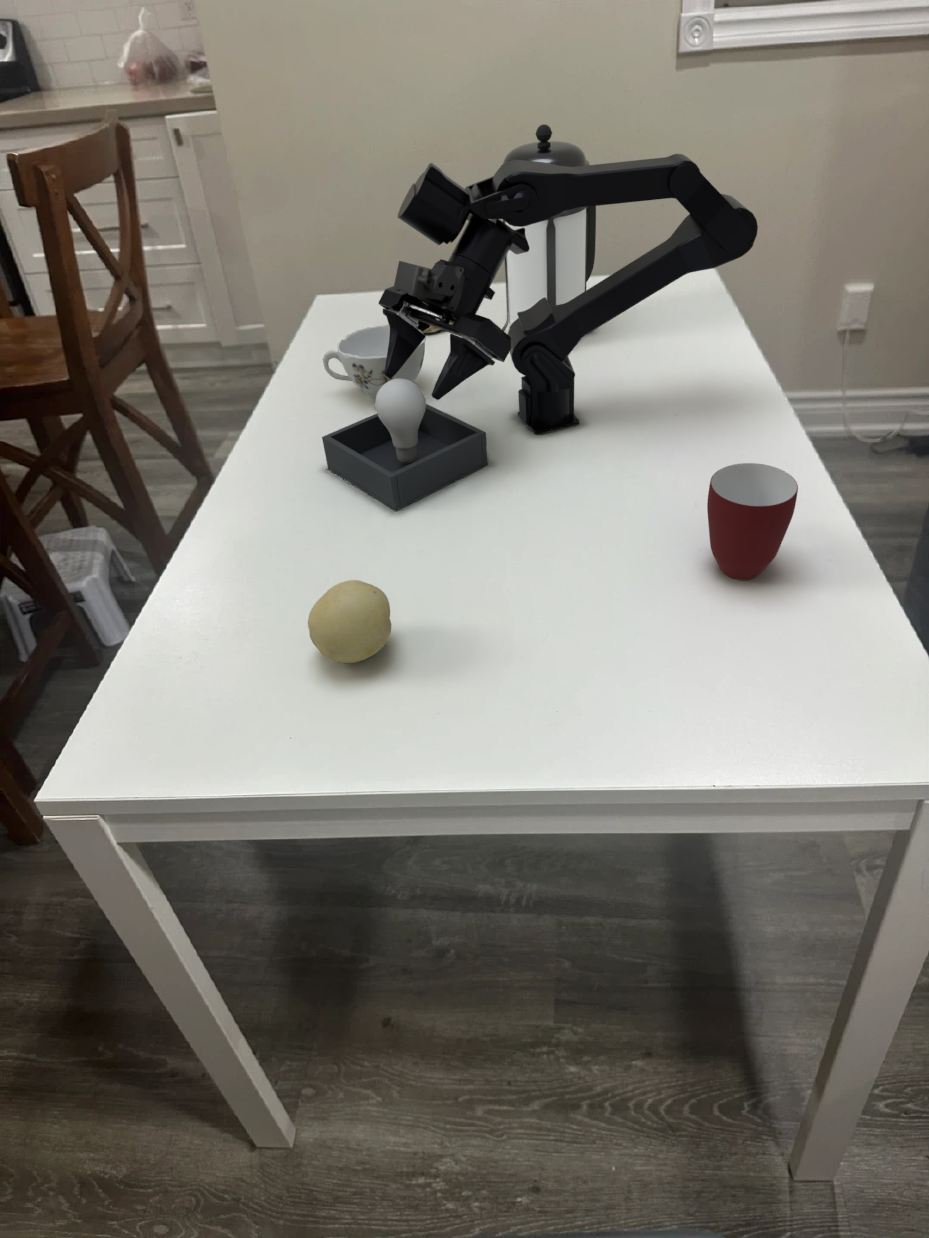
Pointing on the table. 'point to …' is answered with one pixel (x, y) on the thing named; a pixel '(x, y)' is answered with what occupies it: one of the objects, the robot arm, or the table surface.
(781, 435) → the table surface
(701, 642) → the table surface
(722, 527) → the mug
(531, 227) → the coffee press
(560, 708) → the table surface
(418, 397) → the lightbulb
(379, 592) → the potato
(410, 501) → the square tray
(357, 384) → the teacup
